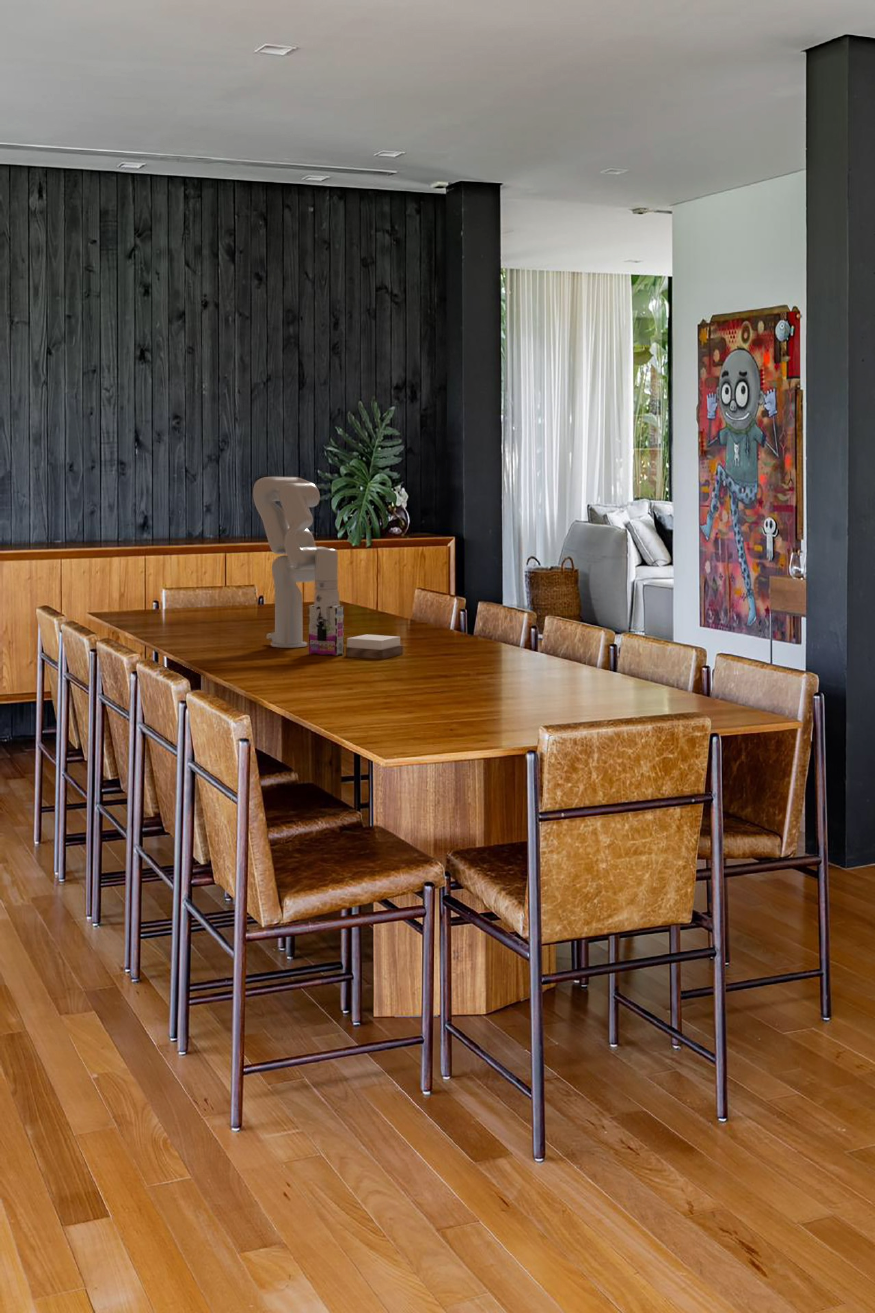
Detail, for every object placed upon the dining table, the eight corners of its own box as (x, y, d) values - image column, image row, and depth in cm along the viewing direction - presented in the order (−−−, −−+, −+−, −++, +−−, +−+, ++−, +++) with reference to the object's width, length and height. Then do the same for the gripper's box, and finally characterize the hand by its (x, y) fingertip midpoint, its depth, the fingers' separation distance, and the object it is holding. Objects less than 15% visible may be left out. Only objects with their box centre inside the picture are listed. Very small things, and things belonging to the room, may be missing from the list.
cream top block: (347, 647, 469) (347, 638, 469) (366, 643, 481) (366, 634, 480) (381, 649, 464) (381, 640, 463) (400, 645, 475) (400, 636, 475)
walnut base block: (345, 657, 469) (345, 647, 469) (366, 653, 482) (366, 642, 481) (383, 660, 463) (383, 650, 463) (402, 655, 476) (402, 645, 475)
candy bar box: (344, 654, 473) (344, 605, 471) (336, 656, 469) (336, 606, 467) (316, 652, 478) (316, 603, 476) (308, 653, 474) (308, 605, 472)
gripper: (323, 588, 461) (323, 643, 464) (348, 584, 477) (348, 638, 479) (303, 587, 465) (303, 642, 467) (329, 583, 480) (329, 636, 482)
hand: (326, 639), depth 473 cm, fingers closed on candy bar box, 5 cm apart
